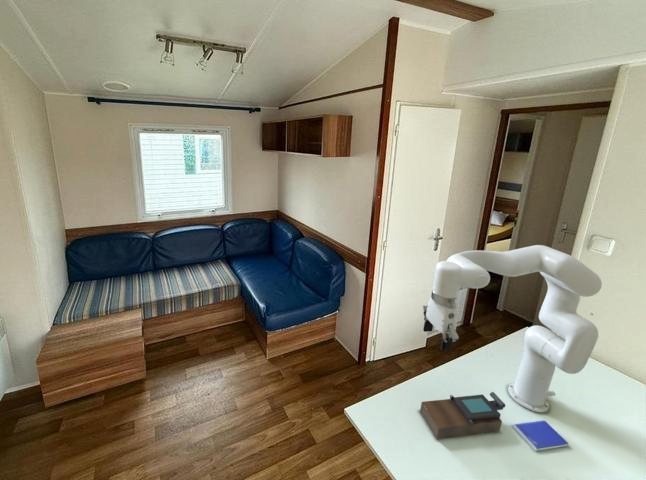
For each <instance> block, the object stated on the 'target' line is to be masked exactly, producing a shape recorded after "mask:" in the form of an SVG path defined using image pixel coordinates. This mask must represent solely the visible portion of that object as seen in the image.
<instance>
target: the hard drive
mask: <svg viewBox="0 0 646 480" xmlns="http://www.w3.org/2000/svg"><path fill="white" fill-rule="evenodd" d="M513 428H514V430H515V431H517V433H518V434H519V435H520V436H521V437H522V438H523V439H524V440H525V441H526V442H527V444H528V445H529V446H530V447H531V448H532V449H533V450H534V451H535V452H538V451H545V450H551V449H556V448H557V449H558V448H563V447H568V446H569V442H568V441H567V440H566V439H565V438H564V437H563V436H562V435H561V434H560V433H558V432H557V431H556V430H555V428H554V427H552V426H551V425H550V424H549V423H548V422H547V421H546V420H537V421H531V422H530V421H529V422H522V423H515V424H514V425H513Z"/></svg>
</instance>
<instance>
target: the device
mask: <svg viewBox="0 0 646 480" xmlns="http://www.w3.org/2000/svg"><path fill="white" fill-rule="evenodd" d="M489 396H490V397H491V398H492V399H493V400H488V398H487V397H486V396H485V395H484V394H475V395H465V396H464V395H463V396H456V397H455V396H453V397H454V399H453V401H454V402H455V404H456V405H457V406H458V408H459V409H460V410H461V412H462V413H463V414H464V416H465V417H466V418H467V419H468V421H469V420H470V419H471V420H472V421H476V420H485V419H494V418H500V419H501V413H500V412H499V411H503V410H504V408H505V407H506V404H505V402H504V401H503V400H502V399H501V398H500V397H499V396H498V395H497V394H496V393H495V392H494V391H491V392H489Z"/></svg>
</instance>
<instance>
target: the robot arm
mask: <svg viewBox="0 0 646 480" xmlns="http://www.w3.org/2000/svg"><path fill="white" fill-rule="evenodd" d="M489 272H491V273H494V274H497V275H501V276H505V277H509V278H513V277H514V278H515V277H520V276H524V275H529V274H533V273H538V272H539V274H540V275H541V276H542V277H543V278H544V280H545V282H546V284H547V291H546V294H545V297H544V300H543V302H542V304H541V307H540V310H539V313H538V319H539V322H540V323H541V324H542V325H537V324H536V325H531V326H529V327H528V328H527V329H526V330H525V333H524V337H523V340H524V341H523V342H524V344H523V353H522V357H521V360H520V364H519V368H518V372H517V373H516V378H515V381H514V382H512V383H510V384H509V385H508V388H507V391H508V394H509V396H510V397H511V398H512V399H513V401H515V402H516V403H517V404H519V405H521V407H523V408H525V409H526V410H530V411H532V412H535V413H546V412H548V411H549V409H550V403H549V401H548V398H549V397H555V396H556V393H555V391H554V390H549V389H550V387H551V383H552V380H553V377H554V375H555V371H556V368H558V369H559V370H560V371H562V372H564V373H566V374H570V375H576V374H579V373H580V372H582V371H583V369H584V368H585V367H586V365H587V364H588V361H589V359H590V357H591V355H592V353H593V351H594V349H595V346H596V344H597V342H598V339H599V330H598V327H597V326H596V325H595V324H594V322H592V321H590V320H589V319H587V318H585V317H583V316H582V315H580V314H579V313H578V312H577V310H578V307H579V304H580V301H581V297H583V298H584V297H585V298H588V297H593V296H595V295H597V294H598V293H599V292H600V291H601V289H602V286H603V284H602V279H601V277H600V276H599V275H598V274H597V273H596V272H594V271H593V270H592V269H590V267H588V266H587V265H585V264H584V263H583V262H582V261H580V260H579V259H577V258H576V257H574V256H572V255H570V254H568V253H566V252H563V251H560V250H558V249H555V248H552V247H550V246H548V245H542V244H534V245H530V246H525V247H520V248H515V249H510V250H506V251H495V250H481V249H479V250H475V249H473V250H465V251H462V252H459V253H458V252H457V253H454V254H452V255H450V256H449V257H448V258H447V259H446V260H442V261H439V262H437V264H436V267H435V271H434V278H433V282H432V283H433V284H432V289H431V294H430V297H429V298H428V302H427V304H426V305H423V306H422V309H423V321H424V323H423V329H422V330H423V332H424V333H426V332H433V328H435V329H436V331H438V332H439V333H441V335H442V340H441V343H440V348H439V349H440V351H441V352H449V351H450V350H451V347H452V343H454V342H456V341H458V339H459V338H460V337H459V335H458V332H457V331H456V330H457V323H458V307H457V301H458V295H459V291H460V288H461V287H462V288H467V289H482V288H485V287H486V286H488V285H489V284H490V281H491V275H490V273H489ZM543 325H544V326H543ZM447 335H448V337H447Z"/></svg>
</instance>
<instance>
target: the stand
mask: <svg viewBox="0 0 646 480" xmlns="http://www.w3.org/2000/svg"><path fill="white" fill-rule="evenodd" d="M454 397H455V396H454V395H453V394H450V395H449V398H446V399H436V400H426V401H421V403H420V409H419V414H420V415H421V417H422V418H423V420H424V422H425V423H426V425H427V426H428V428H429V429H430V431H431V433H432V435H433V436H434V438H435V439H436V440H442V439H450V438H459V437H468V436H476V435H483V434H484V435H485V434H493V433H499V432H500V430H501V426H502V423H503V421H502V419H501V417H500V418H494V419H485V420H476V421H472V420H471V419H470V420H469V421H468V419H467V418H466V417H465V416H464V414H463V413H462V412H461V410H460V409H459V408H458V406H457V405H456V404H455V402H454V401H453V399H454Z"/></svg>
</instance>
